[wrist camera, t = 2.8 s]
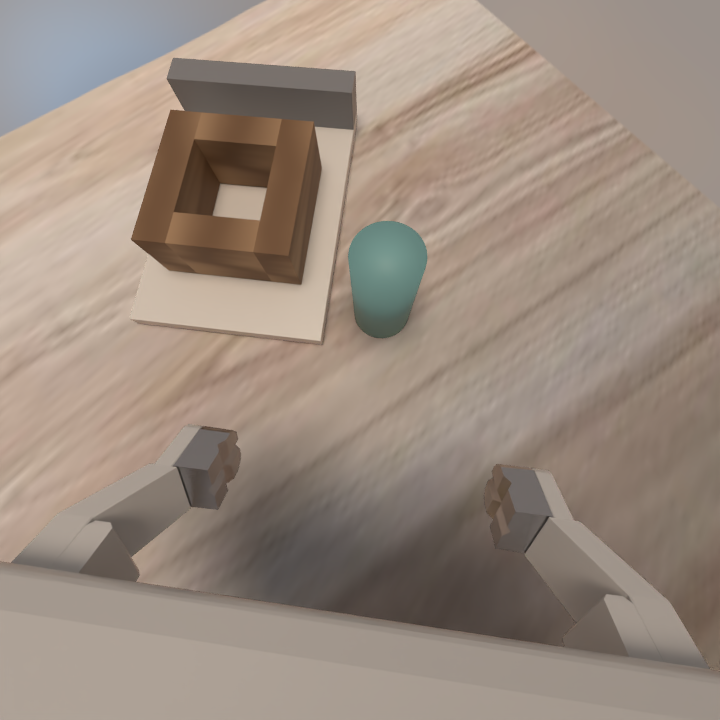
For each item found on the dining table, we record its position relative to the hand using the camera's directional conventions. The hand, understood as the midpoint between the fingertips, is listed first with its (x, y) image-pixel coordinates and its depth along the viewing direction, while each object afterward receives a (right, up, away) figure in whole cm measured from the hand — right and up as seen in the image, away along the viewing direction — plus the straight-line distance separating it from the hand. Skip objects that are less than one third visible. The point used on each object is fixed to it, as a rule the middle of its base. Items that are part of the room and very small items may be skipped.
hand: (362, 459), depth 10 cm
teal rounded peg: (+2, +7, +14) cm, 16 cm away
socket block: (-9, +14, +15) cm, 22 cm away
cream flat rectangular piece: (-8, +15, +16) cm, 23 cm away
